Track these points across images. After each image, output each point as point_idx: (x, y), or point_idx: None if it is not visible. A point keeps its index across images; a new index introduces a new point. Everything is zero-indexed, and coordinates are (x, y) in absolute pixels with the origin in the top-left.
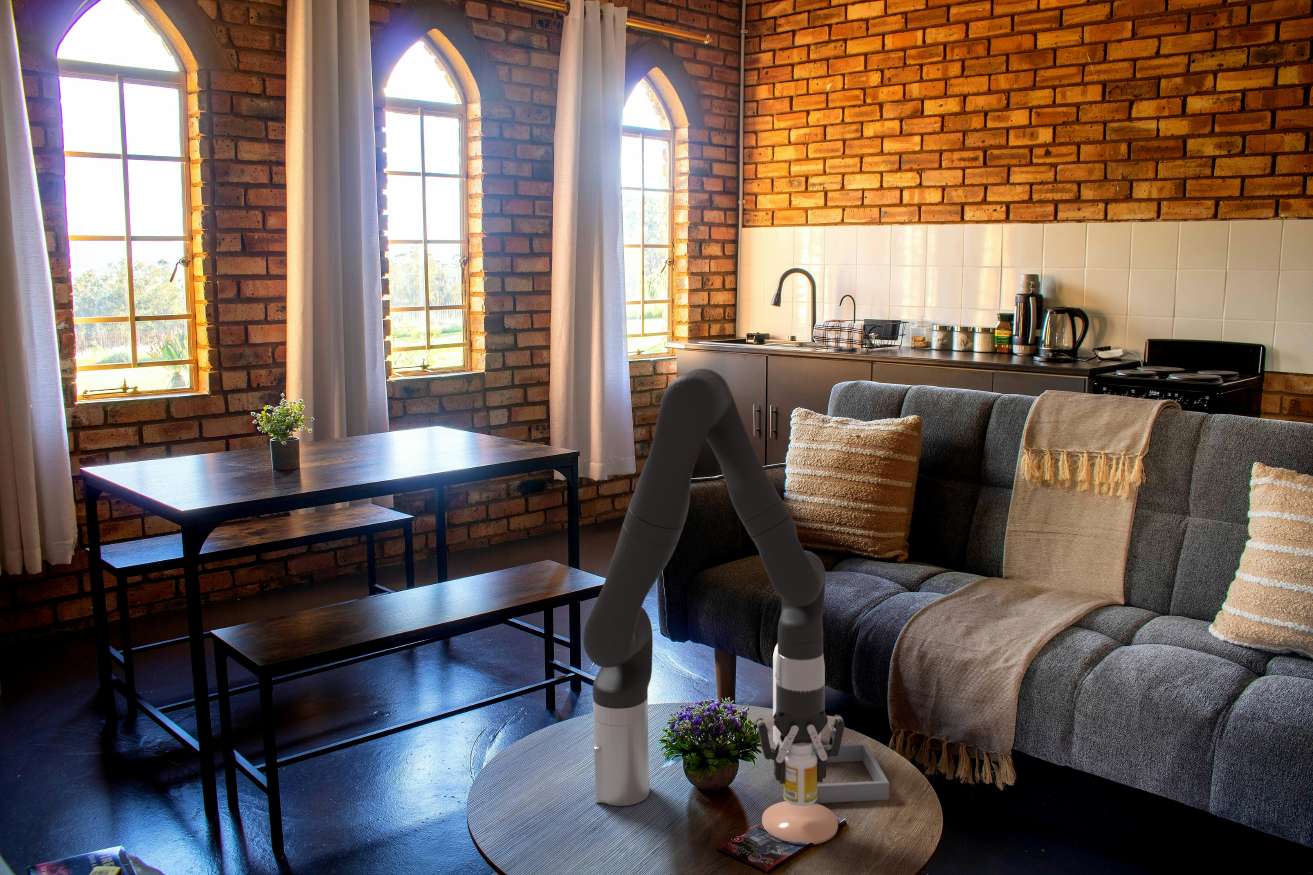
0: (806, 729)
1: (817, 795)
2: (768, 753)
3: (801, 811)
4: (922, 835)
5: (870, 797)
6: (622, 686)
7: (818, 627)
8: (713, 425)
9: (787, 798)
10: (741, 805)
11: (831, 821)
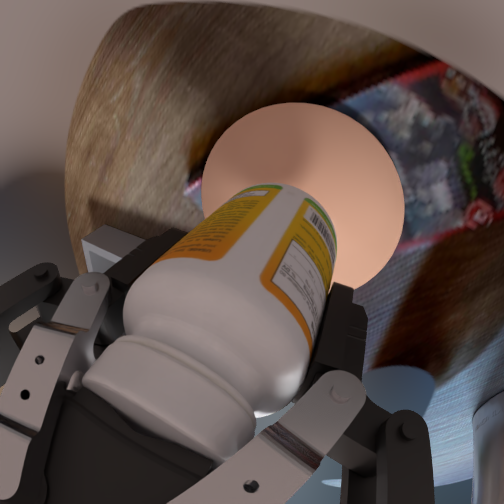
0: (47, 481)
1: None
2: (407, 446)
3: None
4: (84, 100)
5: (125, 236)
6: None
7: None
8: None
9: (335, 235)
10: (388, 328)
11: (219, 173)
